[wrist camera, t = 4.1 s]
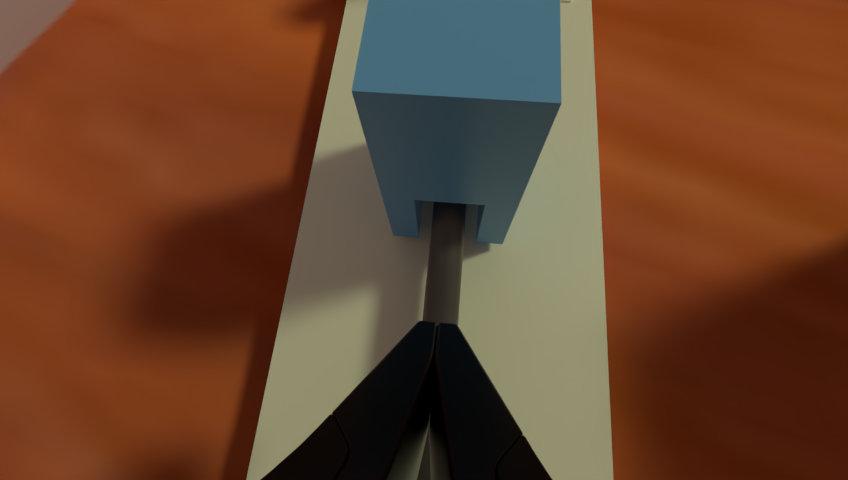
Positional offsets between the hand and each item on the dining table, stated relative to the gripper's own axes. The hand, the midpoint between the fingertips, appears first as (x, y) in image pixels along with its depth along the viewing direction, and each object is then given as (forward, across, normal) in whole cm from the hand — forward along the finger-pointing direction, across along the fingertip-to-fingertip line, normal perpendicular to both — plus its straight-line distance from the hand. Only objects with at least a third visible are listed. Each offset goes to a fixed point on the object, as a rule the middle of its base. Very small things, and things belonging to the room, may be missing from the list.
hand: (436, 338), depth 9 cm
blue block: (+9, 0, -1) cm, 9 cm away
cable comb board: (+11, 0, 0) cm, 11 cm away
